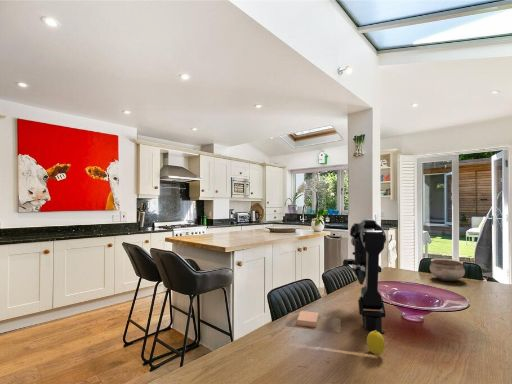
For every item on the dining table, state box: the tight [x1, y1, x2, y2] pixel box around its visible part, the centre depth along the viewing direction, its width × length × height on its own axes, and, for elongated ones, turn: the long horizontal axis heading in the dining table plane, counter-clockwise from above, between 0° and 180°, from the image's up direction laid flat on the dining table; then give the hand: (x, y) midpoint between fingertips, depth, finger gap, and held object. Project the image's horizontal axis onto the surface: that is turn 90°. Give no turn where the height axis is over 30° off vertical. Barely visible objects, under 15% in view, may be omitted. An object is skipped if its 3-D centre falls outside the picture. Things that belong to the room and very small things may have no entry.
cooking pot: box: [429, 258, 466, 283], centre depth 187 cm, size 25×19×12 cm
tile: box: [297, 310, 319, 327], centre depth 120 cm, size 2×10×8 cm
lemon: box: [366, 330, 386, 357], centre depth 95 cm, size 6×6×8 cm
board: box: [282, 312, 342, 334], centre depth 120 cm, size 22×14×1 cm, turn 73°
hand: (361, 284), depth 135 cm, fingers closed
